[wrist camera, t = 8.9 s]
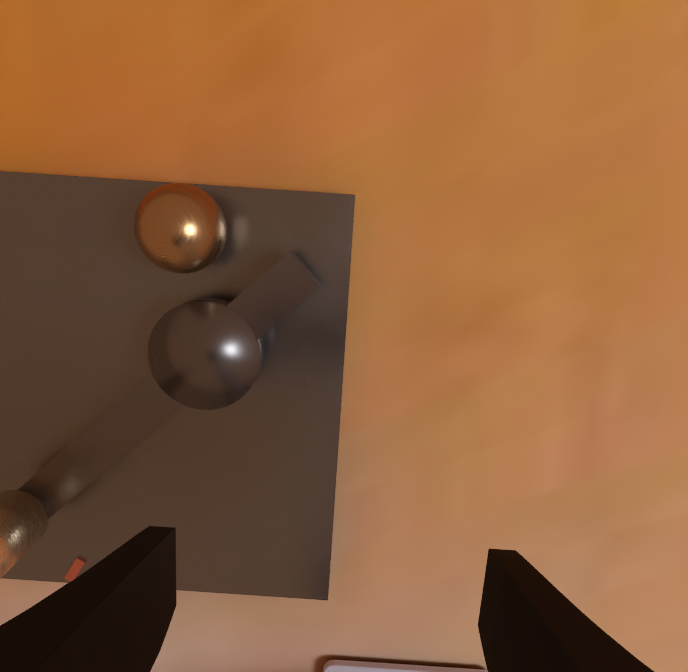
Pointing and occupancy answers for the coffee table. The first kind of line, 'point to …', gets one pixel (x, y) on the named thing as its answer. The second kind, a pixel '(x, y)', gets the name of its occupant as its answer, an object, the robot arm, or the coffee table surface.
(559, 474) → the coffee table surface
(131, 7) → the coffee table surface
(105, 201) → the dark grey flat slab
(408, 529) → the coffee table surface
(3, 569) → the lever
